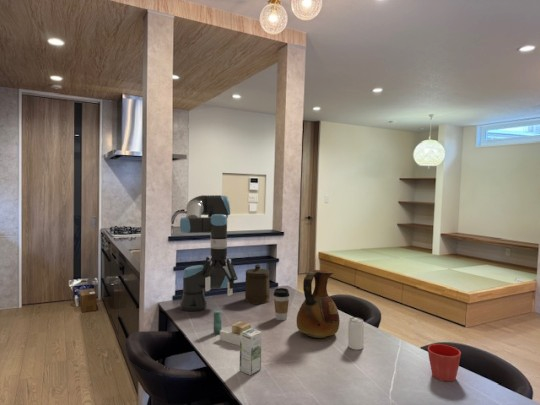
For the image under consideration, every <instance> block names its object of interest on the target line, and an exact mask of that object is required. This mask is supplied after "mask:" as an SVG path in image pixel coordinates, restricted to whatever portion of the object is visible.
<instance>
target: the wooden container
mask: <svg viewBox="0 0 540 405" xmlns="http://www.w3.org/2000/svg"><path fill="white" fill-rule="evenodd" d="M261 267H262V266H261V265H260V264H256V265H255V266H254V268H248V269H246V270H245V282H244V284H245V286H244V289H245V290H244V292H245V294H244V296H245V298H244V301H245V302H246V303H249V304H253V305H254V304H255V305H256V304H257V305H261V304H266V303H269V302H270V294H271V293H270V291H271V290H270V270H269V269H267V268H261Z"/></svg>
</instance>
